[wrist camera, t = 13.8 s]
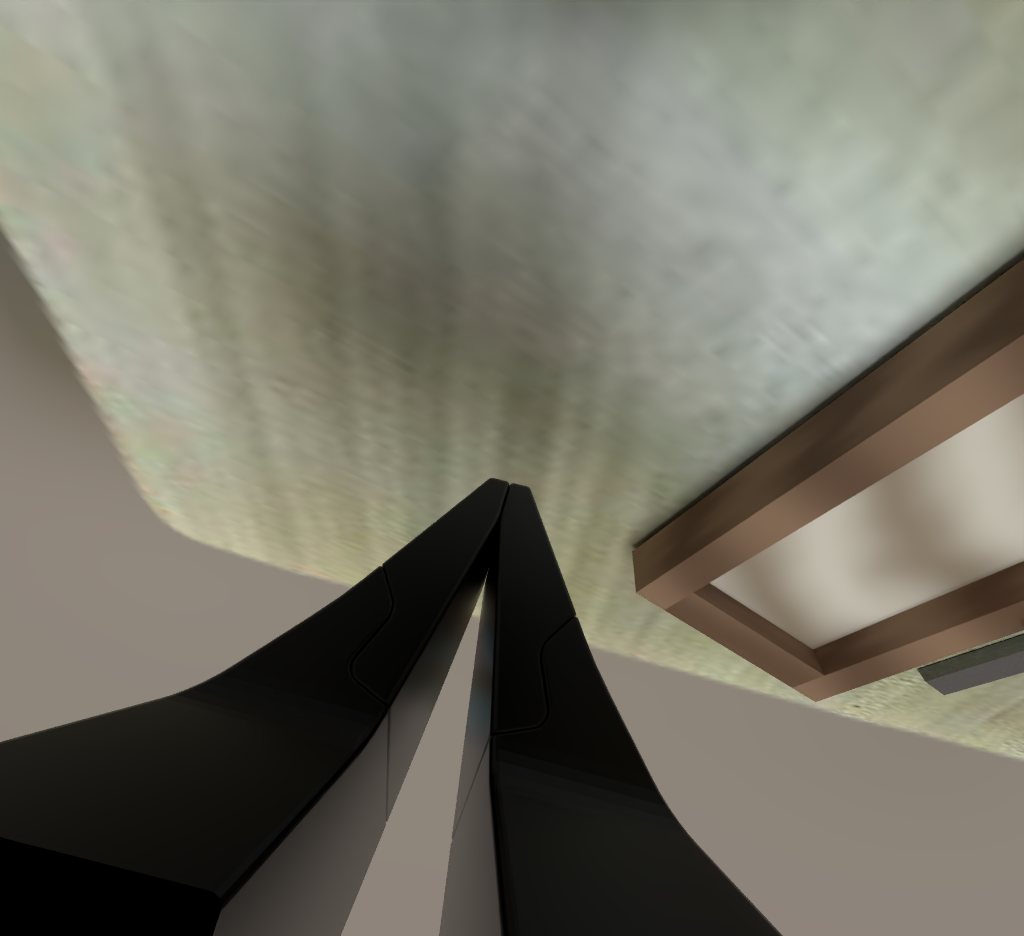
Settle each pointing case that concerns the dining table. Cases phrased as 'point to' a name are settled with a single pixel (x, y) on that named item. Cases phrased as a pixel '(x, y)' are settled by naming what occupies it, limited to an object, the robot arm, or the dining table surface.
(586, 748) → the robot arm
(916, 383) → the picture frame
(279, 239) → the dining table surface
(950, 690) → the strip
